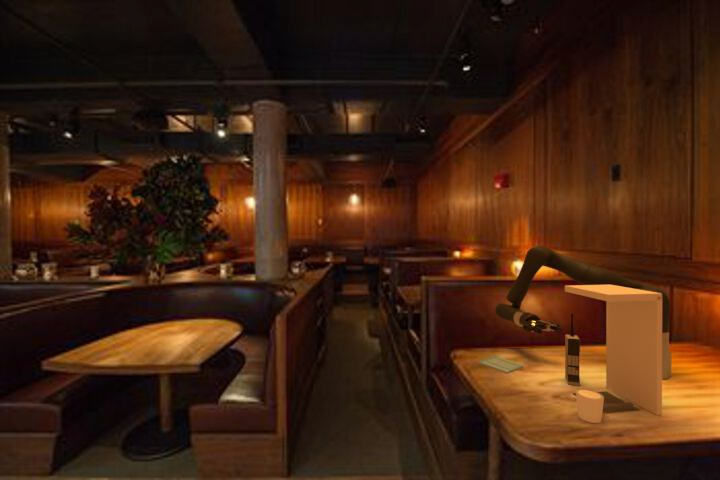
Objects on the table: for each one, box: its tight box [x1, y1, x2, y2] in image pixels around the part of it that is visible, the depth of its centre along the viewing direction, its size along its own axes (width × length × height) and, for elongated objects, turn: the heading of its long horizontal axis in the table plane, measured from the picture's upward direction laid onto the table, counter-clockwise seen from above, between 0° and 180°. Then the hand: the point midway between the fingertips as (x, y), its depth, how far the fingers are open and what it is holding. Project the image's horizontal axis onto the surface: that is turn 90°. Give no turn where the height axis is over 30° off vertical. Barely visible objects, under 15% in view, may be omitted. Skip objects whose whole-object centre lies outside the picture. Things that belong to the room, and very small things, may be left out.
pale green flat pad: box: [477, 355, 524, 375], centre depth 138 cm, size 14×12×1 cm
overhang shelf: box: [564, 284, 663, 416], centre depth 107 cm, size 17×18×36 cm
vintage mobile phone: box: [564, 313, 581, 387], centre depth 121 cm, size 4×5×25 cm
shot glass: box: [575, 388, 604, 424], centre depth 98 cm, size 7×7×7 cm
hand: (551, 331), depth 132 cm, fingers open, 8 cm apart
